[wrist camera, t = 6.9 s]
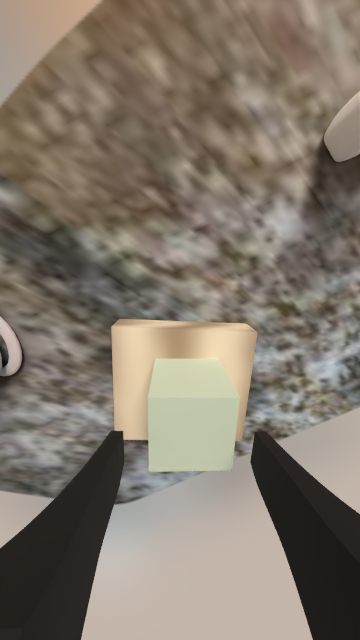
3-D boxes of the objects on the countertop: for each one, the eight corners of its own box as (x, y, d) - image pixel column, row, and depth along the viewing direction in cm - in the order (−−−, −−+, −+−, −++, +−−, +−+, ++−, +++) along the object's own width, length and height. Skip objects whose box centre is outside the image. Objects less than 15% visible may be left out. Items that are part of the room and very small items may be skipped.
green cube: (219, 359, 16) (239, 397, 11) (214, 413, 17) (231, 470, 12) (155, 358, 16) (147, 397, 11) (155, 414, 17) (148, 471, 12)
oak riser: (244, 322, 19) (257, 331, 16) (232, 417, 21) (241, 440, 18) (121, 317, 18) (111, 326, 15) (123, 415, 20) (115, 439, 17)
